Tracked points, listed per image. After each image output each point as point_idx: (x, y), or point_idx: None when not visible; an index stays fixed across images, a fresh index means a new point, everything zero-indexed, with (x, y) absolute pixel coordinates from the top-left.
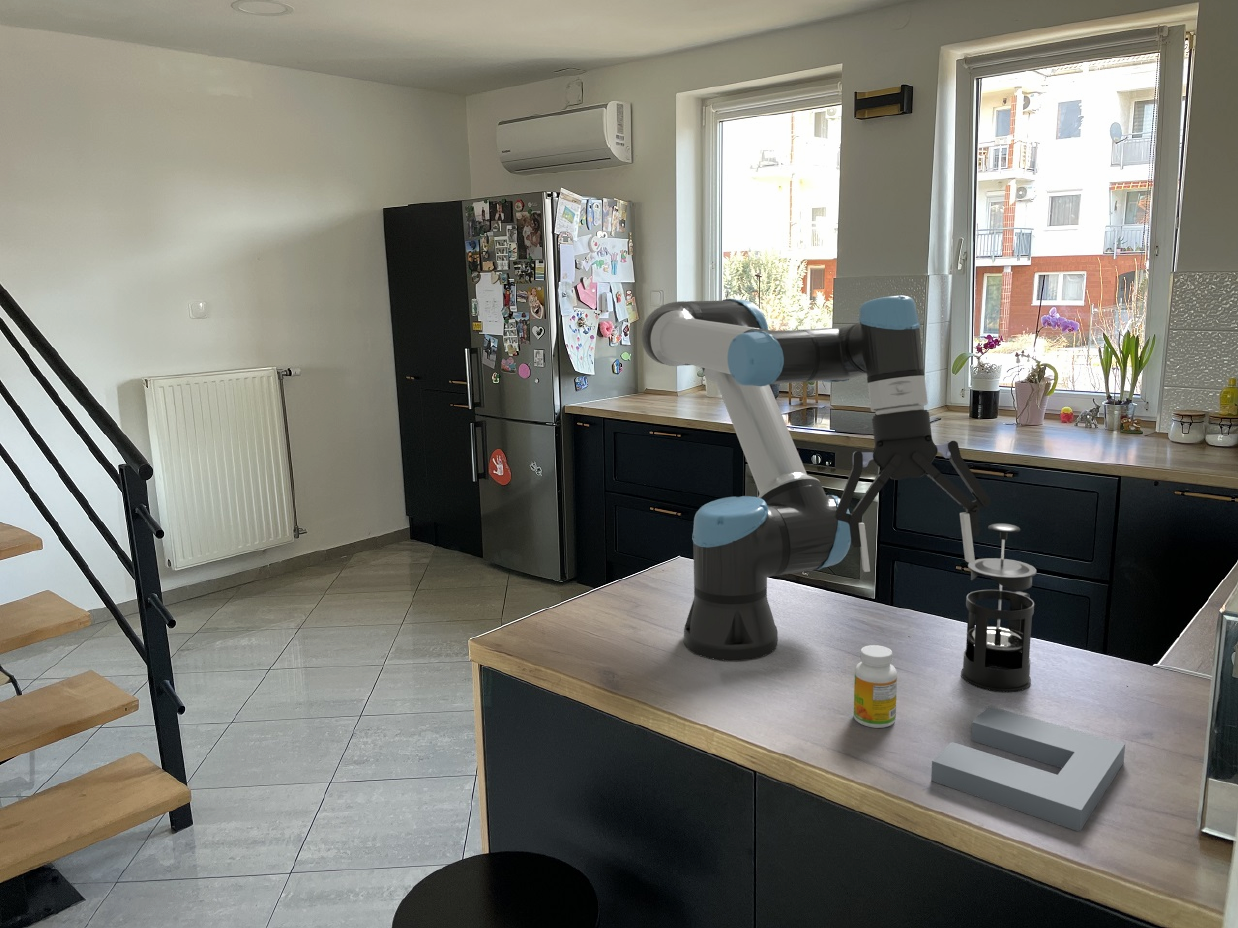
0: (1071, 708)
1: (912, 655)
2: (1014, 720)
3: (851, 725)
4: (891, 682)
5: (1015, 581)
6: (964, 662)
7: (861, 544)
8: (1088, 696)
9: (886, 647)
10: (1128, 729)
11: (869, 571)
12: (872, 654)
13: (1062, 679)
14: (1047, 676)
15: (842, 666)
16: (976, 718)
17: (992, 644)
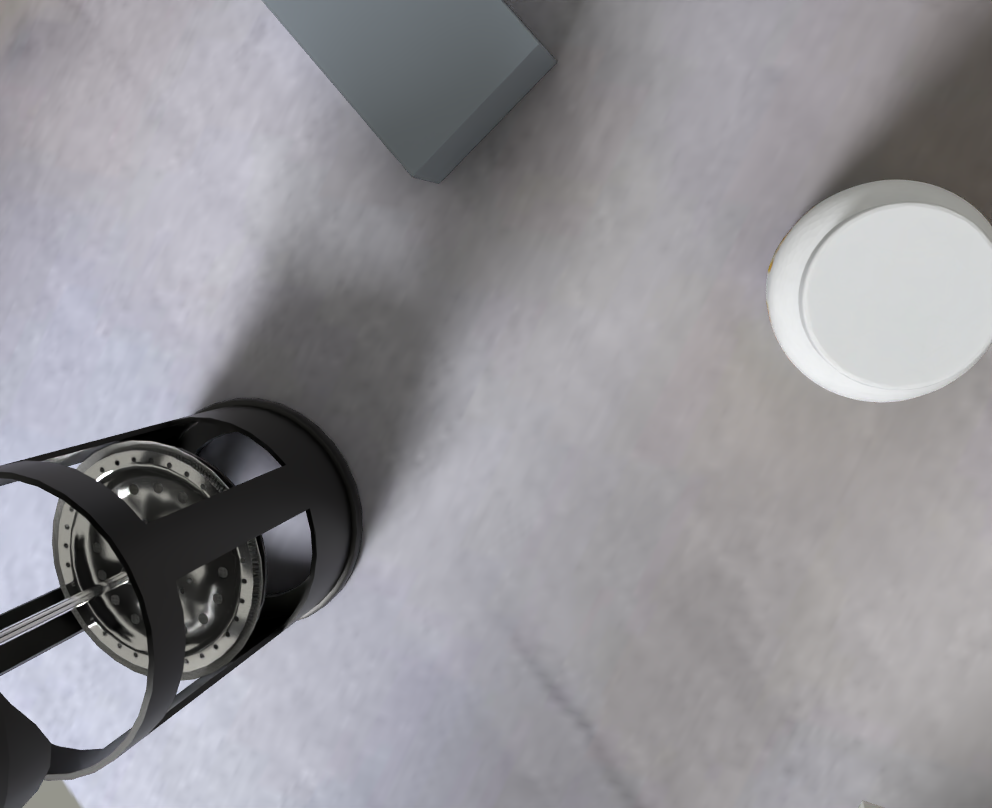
0: (137, 249)
1: (449, 769)
2: (378, 40)
3: None
4: (838, 192)
5: None
6: (327, 563)
7: None
8: (56, 320)
9: (813, 335)
10: (52, 84)
11: (868, 803)
12: (956, 246)
13: None
14: None
15: (767, 772)
16: (507, 73)
17: (204, 494)
